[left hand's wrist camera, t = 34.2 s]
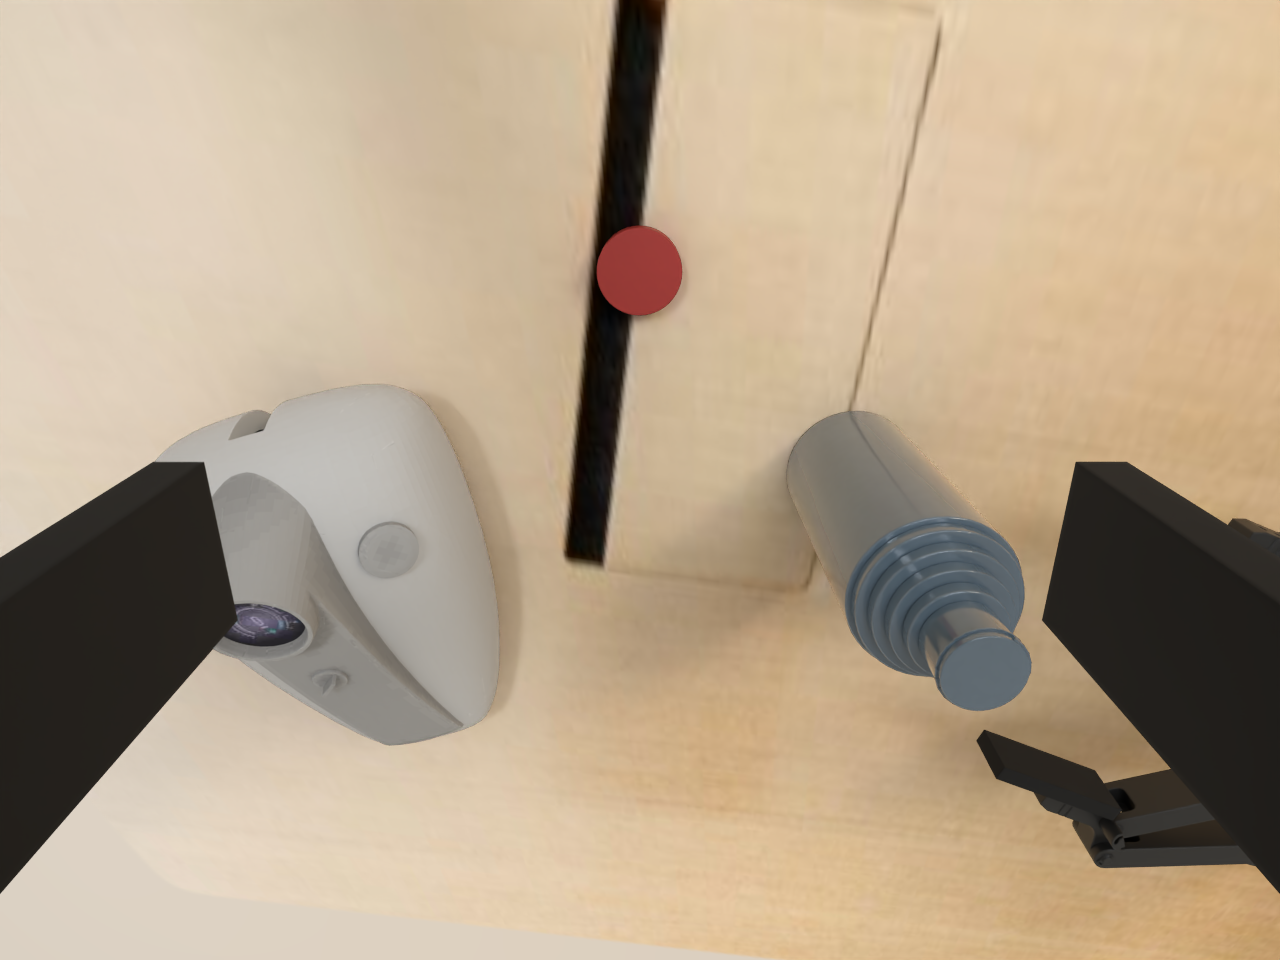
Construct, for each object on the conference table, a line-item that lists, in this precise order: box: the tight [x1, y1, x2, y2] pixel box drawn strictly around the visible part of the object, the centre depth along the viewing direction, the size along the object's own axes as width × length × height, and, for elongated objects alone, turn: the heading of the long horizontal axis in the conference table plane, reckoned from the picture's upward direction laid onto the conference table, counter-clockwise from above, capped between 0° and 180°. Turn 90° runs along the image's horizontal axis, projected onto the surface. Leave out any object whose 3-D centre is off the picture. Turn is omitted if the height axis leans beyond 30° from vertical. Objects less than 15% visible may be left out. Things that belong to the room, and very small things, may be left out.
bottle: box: [787, 411, 1032, 711], centre depth 39 cm, size 8×8×20 cm
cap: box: [597, 226, 682, 315], centre depth 43 cm, size 4×4×2 cm
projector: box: [155, 384, 500, 745], centre depth 43 cm, size 22×23×15 cm
